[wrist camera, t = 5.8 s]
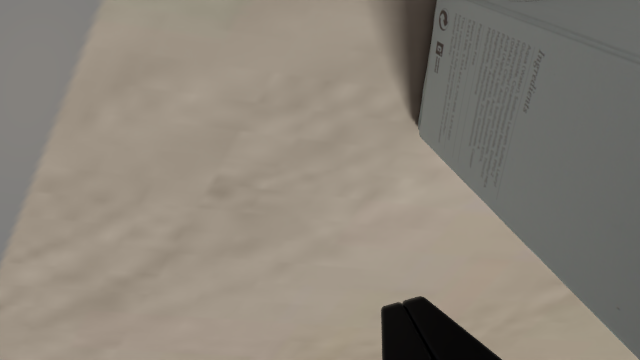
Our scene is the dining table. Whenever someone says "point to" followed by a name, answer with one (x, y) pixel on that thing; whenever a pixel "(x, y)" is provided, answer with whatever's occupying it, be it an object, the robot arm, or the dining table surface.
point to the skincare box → (548, 134)
